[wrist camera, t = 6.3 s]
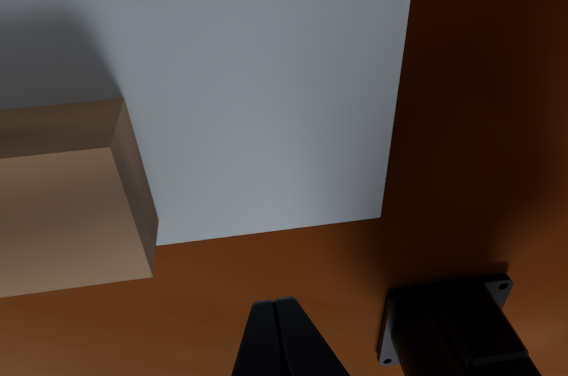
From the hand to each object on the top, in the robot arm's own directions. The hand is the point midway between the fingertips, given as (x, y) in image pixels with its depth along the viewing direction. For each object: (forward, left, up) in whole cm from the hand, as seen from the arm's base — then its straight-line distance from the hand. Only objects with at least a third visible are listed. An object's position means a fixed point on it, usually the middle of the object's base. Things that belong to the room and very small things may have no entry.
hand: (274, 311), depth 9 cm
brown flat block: (0, +6, -6) cm, 8 cm away
